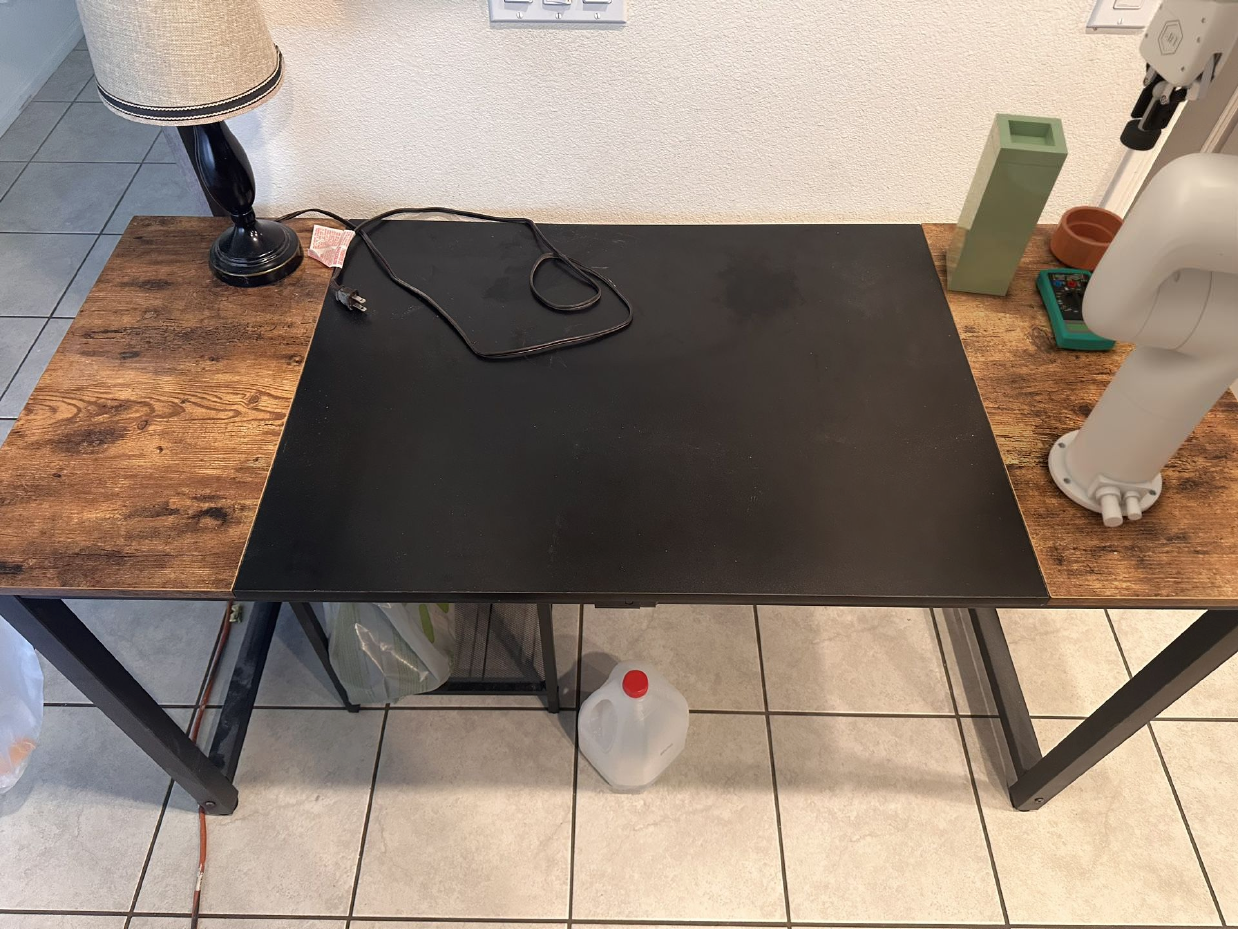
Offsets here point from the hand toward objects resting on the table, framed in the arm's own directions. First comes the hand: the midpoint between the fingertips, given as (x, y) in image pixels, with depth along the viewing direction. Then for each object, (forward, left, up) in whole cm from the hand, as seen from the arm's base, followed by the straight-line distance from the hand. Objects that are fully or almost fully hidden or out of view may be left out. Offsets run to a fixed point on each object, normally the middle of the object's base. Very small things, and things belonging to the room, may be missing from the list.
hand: (1148, 121), depth 112 cm
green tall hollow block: (-8, +16, -21) cm, 28 cm away
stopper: (0, 0, -3) cm, 3 cm away
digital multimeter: (-15, +3, -21) cm, 26 cm away
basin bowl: (0, 0, -21) cm, 21 cm away
